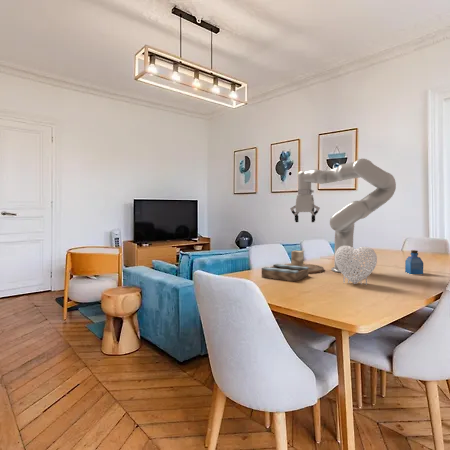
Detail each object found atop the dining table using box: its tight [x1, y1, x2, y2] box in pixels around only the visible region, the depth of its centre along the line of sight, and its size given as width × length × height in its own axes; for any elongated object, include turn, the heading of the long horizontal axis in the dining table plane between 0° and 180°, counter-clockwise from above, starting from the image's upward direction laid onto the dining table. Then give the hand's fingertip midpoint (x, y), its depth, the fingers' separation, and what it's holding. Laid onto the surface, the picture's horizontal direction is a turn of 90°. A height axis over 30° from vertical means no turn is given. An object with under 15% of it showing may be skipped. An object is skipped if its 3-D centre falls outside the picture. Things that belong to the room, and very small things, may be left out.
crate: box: [261, 263, 309, 282], centre depth 168 cm, size 18×16×5 cm
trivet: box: [284, 263, 325, 275], centre depth 187 cm, size 25×25×2 cm
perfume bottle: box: [404, 249, 424, 275], centre depth 173 cm, size 6×6×12 cm
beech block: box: [290, 249, 304, 266], centre depth 187 cm, size 5×5×9 cm
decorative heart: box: [334, 246, 378, 286], centre depth 151 cm, size 18×11×17 cm, turn 57°
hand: (304, 222), depth 194 cm, fingers open, 9 cm apart
